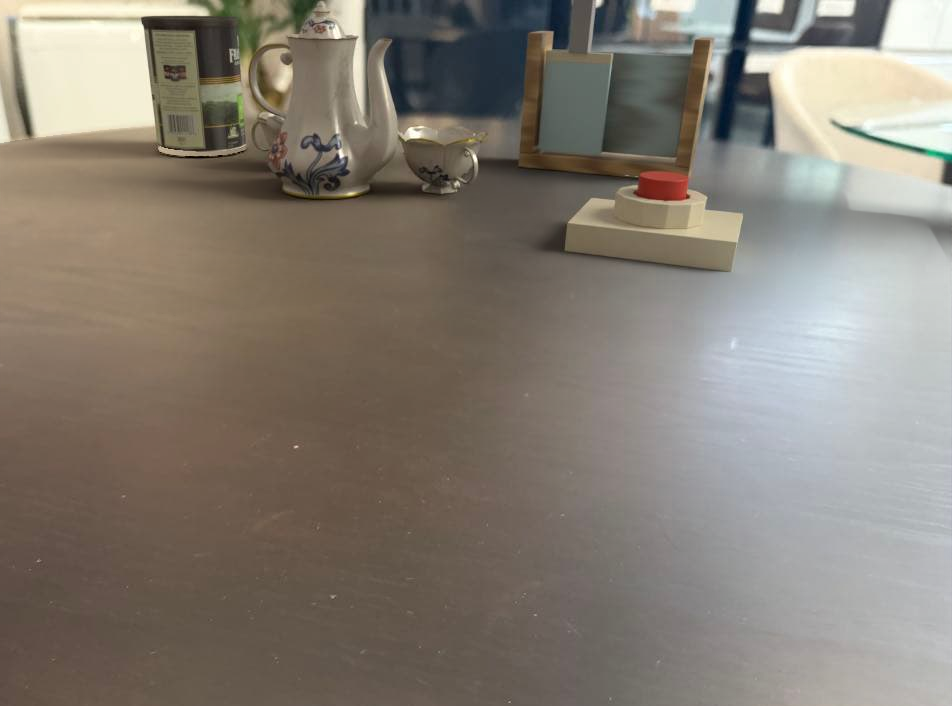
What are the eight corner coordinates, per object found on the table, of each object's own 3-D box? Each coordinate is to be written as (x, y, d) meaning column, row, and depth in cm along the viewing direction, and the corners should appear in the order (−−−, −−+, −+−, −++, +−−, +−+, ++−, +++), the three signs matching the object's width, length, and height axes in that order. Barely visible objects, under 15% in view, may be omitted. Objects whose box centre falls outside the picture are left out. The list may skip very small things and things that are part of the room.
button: (687, 197, 64) (691, 173, 63) (682, 207, 61) (686, 182, 60) (640, 192, 65) (643, 169, 64) (632, 201, 62) (636, 178, 61)
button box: (738, 240, 66) (748, 190, 65) (731, 272, 59) (742, 216, 57) (588, 223, 70) (593, 175, 69) (564, 251, 63) (569, 198, 61)
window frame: (692, 174, 90) (714, 37, 84) (687, 182, 86) (711, 39, 80) (529, 159, 96) (540, 30, 90) (518, 166, 92) (528, 32, 86)
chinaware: (505, 201, 84) (525, 19, 78) (434, 220, 70) (450, 0, 64) (275, 170, 95) (276, 9, 89) (174, 181, 81) (167, -9, 75)
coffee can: (244, 141, 103) (235, 15, 97) (249, 157, 94) (240, 19, 88) (157, 143, 101) (143, 14, 94) (154, 159, 92) (138, 18, 85)
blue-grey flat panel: (602, 153, 90) (623, -24, 82) (599, 155, 89) (620, -24, 81) (540, 147, 92) (555, -25, 85) (536, 150, 91) (551, -25, 83)
